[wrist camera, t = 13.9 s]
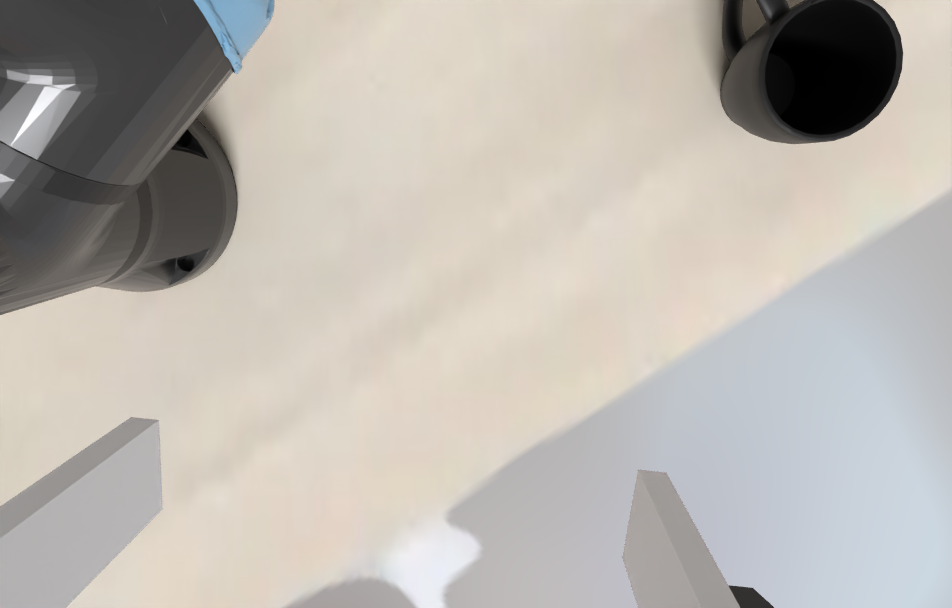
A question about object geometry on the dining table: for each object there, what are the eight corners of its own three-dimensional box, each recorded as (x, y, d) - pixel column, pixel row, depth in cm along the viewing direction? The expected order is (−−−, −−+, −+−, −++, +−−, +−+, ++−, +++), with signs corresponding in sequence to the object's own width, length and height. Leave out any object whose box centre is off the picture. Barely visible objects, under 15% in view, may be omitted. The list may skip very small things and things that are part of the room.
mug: (749, -42, 40) (824, -104, 31) (836, 100, 42) (930, 81, 33) (651, 36, 42) (694, -1, 33) (739, 169, 44) (804, 170, 34)
